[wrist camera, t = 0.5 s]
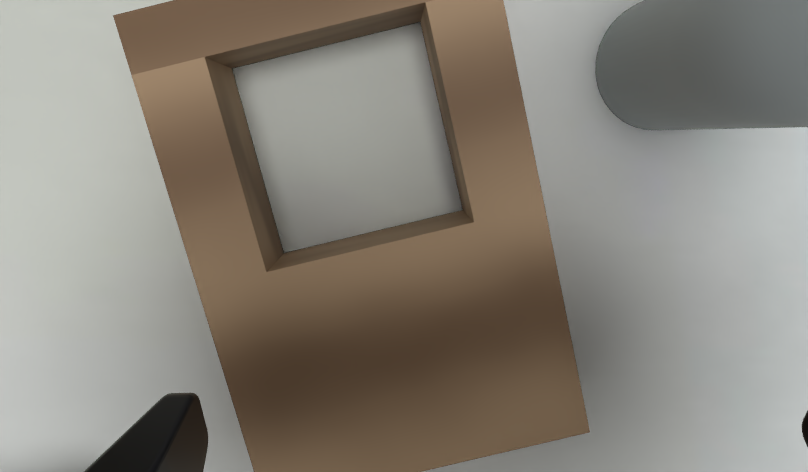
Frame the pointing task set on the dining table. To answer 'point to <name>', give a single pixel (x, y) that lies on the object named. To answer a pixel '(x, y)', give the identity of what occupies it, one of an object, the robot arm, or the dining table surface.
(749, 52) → the peg
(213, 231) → the socket block
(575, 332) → the dining table surface
